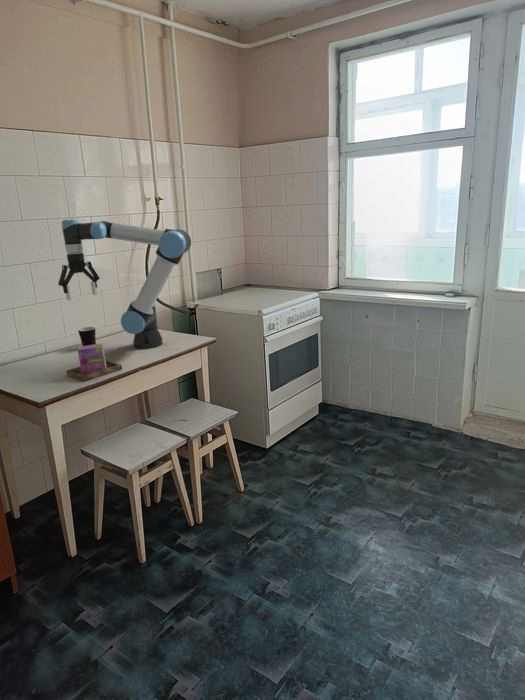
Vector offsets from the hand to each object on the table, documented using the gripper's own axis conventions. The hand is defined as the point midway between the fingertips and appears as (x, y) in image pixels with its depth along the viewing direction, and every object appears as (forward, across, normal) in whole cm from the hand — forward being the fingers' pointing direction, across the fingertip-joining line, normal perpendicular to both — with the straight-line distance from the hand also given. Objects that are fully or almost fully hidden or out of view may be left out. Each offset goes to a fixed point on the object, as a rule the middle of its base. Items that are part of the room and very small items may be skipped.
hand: (82, 297), depth 241 cm
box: (+29, +14, +28) cm, 43 cm away
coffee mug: (+29, -7, -13) cm, 32 cm away
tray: (+29, +14, +28) cm, 43 cm away
